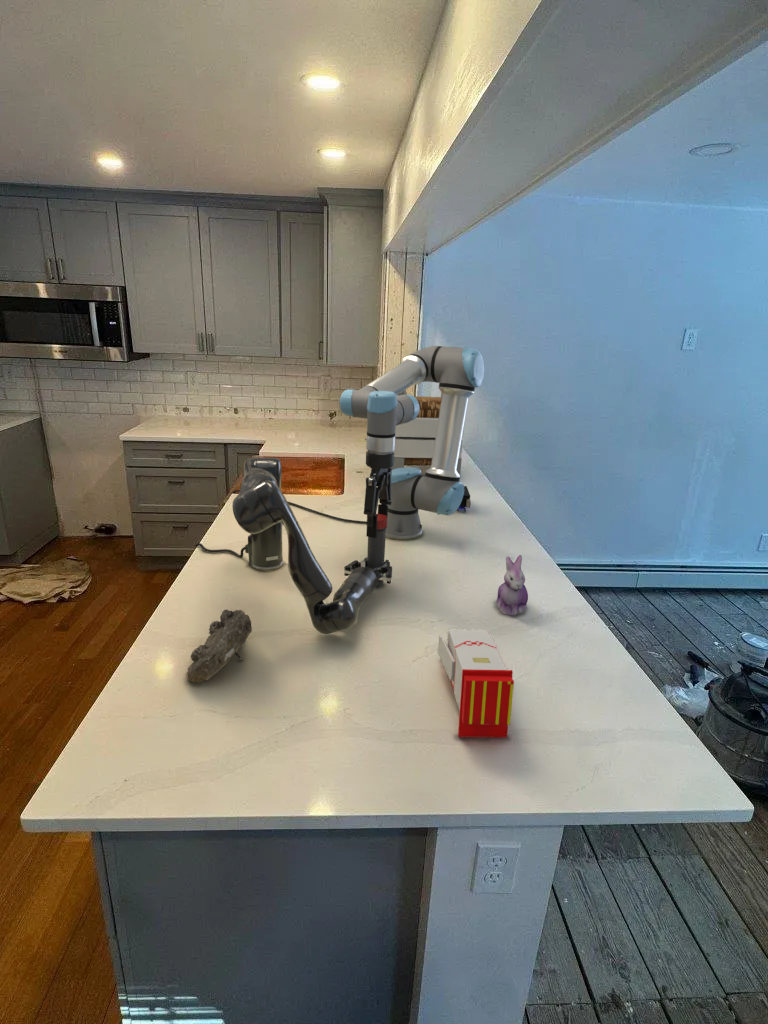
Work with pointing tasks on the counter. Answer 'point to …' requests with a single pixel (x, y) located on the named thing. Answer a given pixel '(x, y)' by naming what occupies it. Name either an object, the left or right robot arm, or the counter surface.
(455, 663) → the toy
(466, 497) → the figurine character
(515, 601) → the figurine
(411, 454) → the grey storage crate
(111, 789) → the counter surface
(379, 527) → the lid
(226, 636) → the fossil
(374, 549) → the grey cylinder
